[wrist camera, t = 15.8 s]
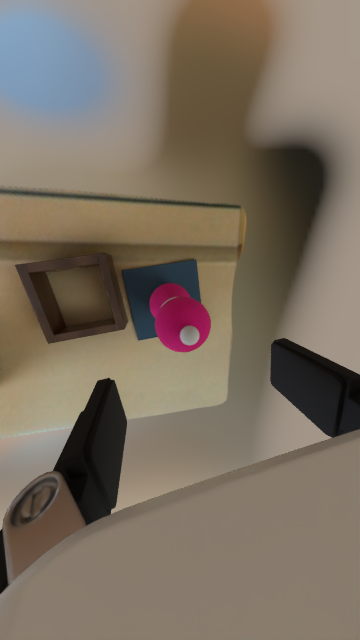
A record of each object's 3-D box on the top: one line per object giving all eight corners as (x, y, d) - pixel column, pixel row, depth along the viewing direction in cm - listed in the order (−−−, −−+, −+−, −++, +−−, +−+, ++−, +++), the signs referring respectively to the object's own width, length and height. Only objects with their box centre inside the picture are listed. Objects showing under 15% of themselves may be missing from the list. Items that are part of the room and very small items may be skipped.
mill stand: (61, 334, 32) (47, 343, 28) (34, 265, 28) (14, 264, 24) (128, 321, 34) (124, 329, 29) (111, 255, 30) (104, 252, 26)
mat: (138, 339, 35) (138, 340, 35) (122, 270, 31) (121, 270, 30) (202, 326, 37) (203, 327, 36) (195, 259, 33) (196, 259, 32)
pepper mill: (142, 305, 33) (132, 353, 14) (162, 273, 32) (181, 279, 13) (172, 324, 35) (199, 387, 16) (192, 295, 34) (247, 326, 15)
